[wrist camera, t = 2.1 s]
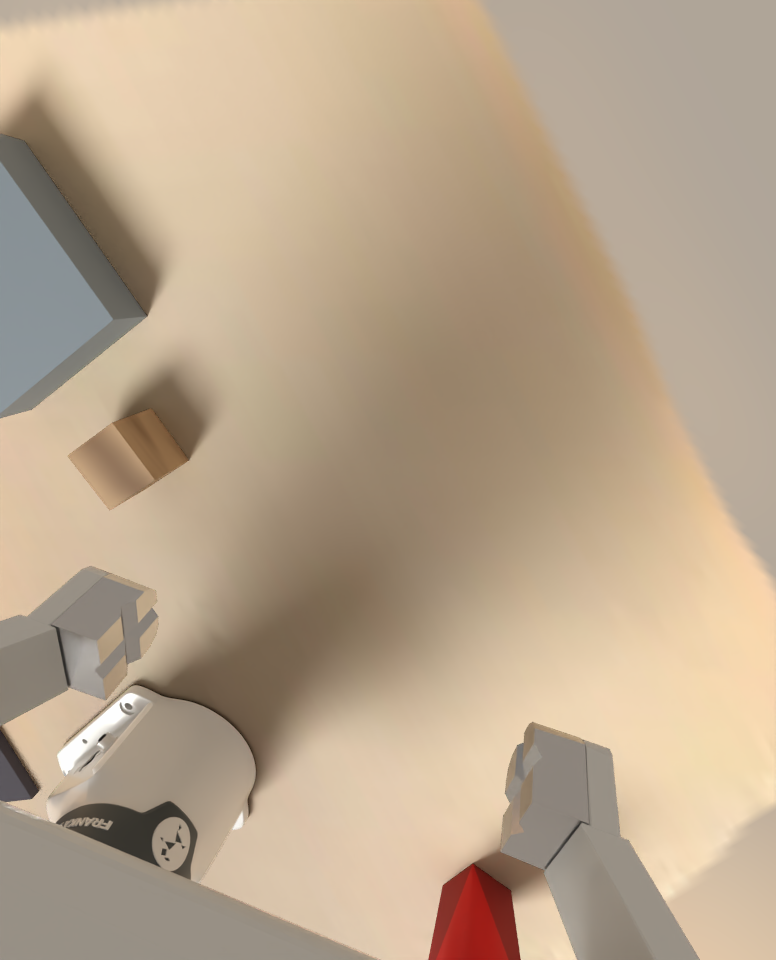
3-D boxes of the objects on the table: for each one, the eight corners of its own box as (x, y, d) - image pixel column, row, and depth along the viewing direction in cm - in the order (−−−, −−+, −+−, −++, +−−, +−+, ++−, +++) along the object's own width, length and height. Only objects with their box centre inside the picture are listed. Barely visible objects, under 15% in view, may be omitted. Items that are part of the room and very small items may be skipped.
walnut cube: (147, 487, 47) (109, 510, 42) (110, 438, 46) (67, 455, 41) (189, 459, 45) (155, 480, 41) (152, 408, 44) (112, 422, 40)
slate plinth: (31, 409, 46) (-9, 420, 42) (-86, 258, 43) (-141, 255, 40) (147, 316, 42) (113, 319, 38) (24, 141, 39) (-26, 125, 35)
